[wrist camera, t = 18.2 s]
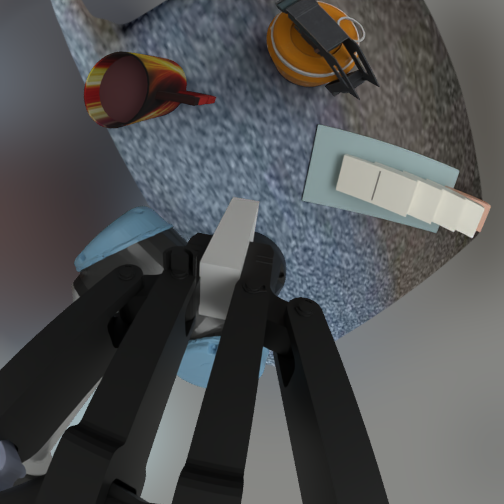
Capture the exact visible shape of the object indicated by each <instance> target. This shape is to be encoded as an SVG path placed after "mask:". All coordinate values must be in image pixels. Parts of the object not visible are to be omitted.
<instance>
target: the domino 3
mask: <svg viewBox="0 0 504 504" xmlns="http://www.w3.org/2000/svg"><path fill="white" fill-rule="evenodd" d="M403 172H404V173H407V174H409V175H412V176H414V177H417V178H419V179H421V180H424V181H426V182H428V183H431V184H433V185H435V186H437V187H439V188H442V190H443V193H442V196H441V198H440V201H439V204H438V207H437V209H436V212H435V214H434V217H433V219H432V222H434V223H436V224H438V225H440V226H442V227H444V228H447V229H449V230H451V231H453V232H454V231H455V228H456V226H457V224H458V221H459V219H460V216H461V214H462V211H463V209H464V206H465V203H466V199H465V198H464V197H462V196H460V195H458V194H456V193H454V192H452V191H450V190H448V189H445V188H443V187H441V186H439V185H437V184H435V183H432V182H430V181H428V180H425V179H423V178H421V177H418V176H416V175H414V174H411V173H409V172H406V171H404V170H403Z"/></svg>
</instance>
